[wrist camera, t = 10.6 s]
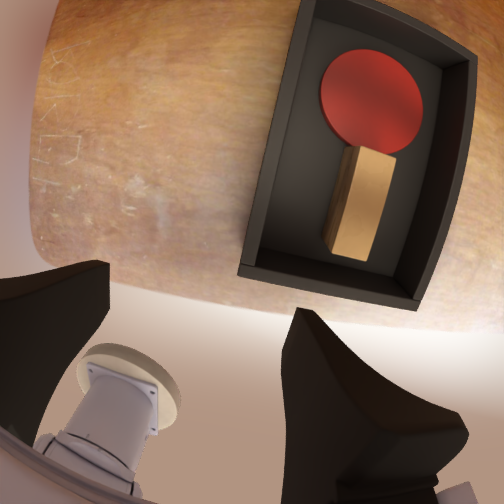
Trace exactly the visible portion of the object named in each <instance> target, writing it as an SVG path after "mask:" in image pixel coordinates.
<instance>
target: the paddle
mask: <svg viewBox="0 0 504 504" xmlns="http://www.w3.org/2000/svg"><path fill="white" fill-rule="evenodd" d="M319 104H320V108H321V112H322V114H323V117H324V119H325V121H326V123H327V124H328V126H329V127H330V129H331V130H332V131H333V133H334V134H335V135H336V136H337V137H338V138H339V139H340V140H341V141H343V142H344V143H345V144H347V145H348V147H345V148H344V152H343V156H342V160H341V164H340V169H339V172H338V176H337V180H336V184H335V188H334V192H333V196H332V199H331V203H330V207H329V210H328V214H327V217H326V221H325V224H324V228H323V231H322V235H321V237H322V239H323V240H324V242H325V244H326V245H327V247H328V248H329V250H330V251H331V253H333V254H337V255H342V256H346V257H350V258H354V259H358V260H362V261H367V258H368V255H369V252H370V249H371V246H372V243H373V240H374V237H375V234H376V231H377V228H378V225H379V221H380V218H381V215H382V211H383V208H384V204H385V201H386V197H387V194H388V190H389V186H390V183H391V179H392V175H393V171H394V167H395V163H396V158H394V157H392V156H389V155H386V154H390V153H394V152H397V151H399V150H401V149H403V148H405V147H406V146H407V145H409V144H410V143H411V142H412V141H413V139H414V138H415V137H416V135H417V133H418V131H419V129H420V126H421V123H422V118H423V104H422V98H421V94H420V91H419V89H418V86H417V84H416V82H415V81H414V79H413V78H412V76H411V75H410V73H409V72H408V71H407V70H406V69H405V68H404V67H403V66H402V65H401V64H400V63H399V62H397V61H396V60H395V59H393V58H392V57H390V56H388V55H386V54H384V53H381V52H378V51H374V50H368V49H356V50H351V51H348V52H345V53H343V54H341V55H339V56H338V57H337V58H335V59H334V60H333V61H332V62H331V63H330V64H329V66H328V67H327V68H326V70H325V71H324V73H323V75H322V77H321V80H320V84H319Z"/></svg>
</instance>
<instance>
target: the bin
mask: <svg viewBox="0 0 504 504" xmlns="http://www.w3.org/2000/svg"><path fill="white" fill-rule="evenodd" d="M356 49H368V50H374V51H378V52H381V53H384V54H386V55H388V56H390V57H392V58H393V59H395V60H396V61H397V62H399V63H400V64H401V65H402V66H403V67H404V68H405V69H406V70H407V71H408V72H409V73H410V75H411V76H412V78H413V79H414V81H415V82H416V84H417V86H418V89H419V91H420V94H421V98H422V104H423V118H422V123H421V126H420V129H419V131H418V133H417V135H416V137H415V138H414V139H413V141H412V142H411V143H410V144H409V145H407V146H406V147H405V148H403V149H401V150H399V151H397V152H394V153H390V154H386V155H389V156H392V157H394V158H396V163H395V167H394V171H393V175H392V179H391V183H390V186H389V190H388V194H387V197H386V201H385V204H384V208H383V211H382V215H381V218H380V221H379V225H378V228H377V231H376V234H375V237H374V240H373V243H372V246H371V249H370V252H369V255H368V258H367V261H362V260H358V259H354V258H350V257H346V256H342V255H337V254H333V253H331V251H330V250H329V248H328V247H327V245H326V244H325V242H324V240H323V239H322V237H321V235H322V231H323V228H324V224H325V221H326V217H327V214H328V210H329V207H330V203H331V199H332V196H333V192H334V188H335V184H336V180H337V176H338V172H339V169H340V164H341V160H342V156H343V152H344V148H345V147H348V145H347V144H345V143H344V142H343V141H341V140H340V139H339V138H338V137H337V136H336V135H335V134H334V133H333V131H332V130H331V129H330V127H329V126H328V124H327V123H326V121H325V119H324V117H323V114H322V112H321V108H320V104H319V84H320V80H321V77H322V75H323V73H324V71H325V70H326V68H327V67H328V66H329V64H330V63H331V62H332V61H333V60H334V59H335V58H337V57H338V56H339V55H341V54H343V53H345V52H348V51H351V50H356ZM477 65H478V56H476V55H475V54H474V53H472V52H471V51H469V50H468V49H466V48H465V47H463V46H462V45H460V44H459V43H457V42H456V41H454V40H452V39H451V38H449V37H448V36H446V35H444V34H443V33H441V32H439V31H437V30H436V29H434V28H432V27H430V26H428V25H427V24H425V23H423V22H421V21H419V20H417V19H415V18H413V17H411V16H409V15H407V14H405V13H403V12H401V11H398V10H396V9H394V8H392V7H389V6H387V5H385V4H382V3H380V2H377V1H375V0H301V2H300V6H299V10H298V14H297V18H296V22H295V26H294V30H293V34H292V39H291V43H290V47H289V51H288V55H287V59H286V63H285V68H284V72H283V76H282V80H281V84H280V89H279V93H278V97H277V101H276V105H275V110H274V114H273V118H272V123H271V127H270V131H269V135H268V140H267V144H266V148H265V153H264V157H263V161H262V166H261V170H260V175H259V179H258V183H257V188H256V192H255V197H254V201H253V205H252V210H251V214H250V219H249V223H248V228H247V232H246V237H245V241H244V246H243V250H242V255H241V259H240V264H239V268H238V273H237V276H239V277H244V278H248V279H253V280H258V281H262V282H267V283H272V284H276V285H281V286H286V287H291V288H295V289H300V290H305V291H310V292H315V293H320V294H325V295H330V296H335V297H340V298H345V299H350V300H356V301H361V302H366V303H372V304H377V305H382V306H388V307H393V308H399V309H404V310H410V311H417V309H418V307H419V305H420V303H421V300H422V298H423V296H424V294H425V292H426V289H427V287H428V284H429V282H430V280H431V277H432V275H433V272H434V270H435V267H436V265H437V262H438V259H439V257H440V254H441V251H442V248H443V245H444V242H445V240H446V237H447V234H448V230H449V227H450V224H451V221H452V218H453V214H454V211H455V207H456V204H457V200H458V196H459V192H460V188H461V184H462V180H463V176H464V171H465V167H466V162H467V157H468V151H469V146H470V140H471V134H472V127H473V119H474V111H475V101H476V88H477Z"/></svg>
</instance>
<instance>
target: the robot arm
mask: <svg viewBox="0 0 504 504" xmlns="http://www.w3.org/2000/svg"><path fill="white" fill-rule="evenodd" d="M109 285H110V263H107V262H103V261H100V260H90V261H85V262H80V263H76V264H72V265H68V266H64V267H60V268H57V269H53V270H48V271H44V272H40V273H36V274H31V275H26V276H20V277H12V278H4V279H0V504H157V503H154V502H151V501H147V500H144V499H142V491H141V489H140V486H139V484H138V483H136V482H134V481H133V479H134V476H135V471H136V469H137V466H138V464H139V461H140V458H141V455H142V452H143V450H144V447H145V444H146V441H147V438H148V436H149V434H151V435H155V436H157V435H158V387H157V386H156V385H155V384H152V383H149V382H146V381H143V380H139V379H136V378H133V377H130V376H127V375H124V374H122V373H119V372H116V371H113V370H110V369H108V368H105V367H102V366H100V365H97V364H95V363H92V362H88V363H87V364H86V367H87V372H88V377H89V382H90V388H89V390H88V392H87V393H86V395H85V396H84V398H83V400H82V401H81V403H80V404H79V406H78V408H77V409H76V411H75V412H74V414H73V416H72V417H71V419H70V421H69V422H68V424H67V426H66V427H65V429H64V431H62V430H60V431H59V433H58V435H57V436H56V437H55V436H54V435H53V434H51V433H49V434H43V435H41V436H40V437H39V438H38V440H37V441H36V442H35V444H34V441H35V438H36V434H37V431H38V428H39V425H40V423H41V420H42V417H43V415H44V412H45V410H46V407H47V405H48V403H49V401H50V399H51V397H52V395H53V393H54V390H55V388H56V386H57V385H58V383H59V381H60V379H61V378H62V376H63V374H64V372H65V370H66V369H67V368H68V366H69V365H70V363H71V362H72V360H73V359H74V358H75V357H76V355H77V354H78V353H79V351H80V350H81V349H82V347H84V345H85V344H86V343H87V342H88V340H89V339H90V338H91V336H92V335H93V334H94V333H95V332H96V330H97V329H98V328H99V326H100V325H101V323H102V321H103V320H104V318H105V316H106V315H107V313H108V311H109V309H110V286H109ZM281 379H282V390H283V399H284V409H285V419H286V448H285V466H284V478H283V488H282V498H281V504H478V502H477V499H476V497H475V494H474V492H473V489H472V487H471V484H470V482H464V483H462V484H459V485H456V486H453V487H451V488H448V489H445V490H443V491H441V492H439V493H437V494H435V491H434V488H433V487H434V486H436V485H437V484H438V482H439V480H438V478H437V475H436V474H437V473H438V472H439V471H440V470H441V469H442V468H443V467H445V466H446V465H447V464H448V463H449V462H450V461H451V460H452V459H453V458H454V457H455V456H456V455H457V454H458V453H459V452H460V451H461V450H462V449H463V447H464V446H465V444H466V442H467V440H468V437H469V432H468V430H467V428H466V426H465V424H464V422H463V420H462V419H461V417H460V415H459V414H458V413H457V412H454V411H451V410H449V409H446V408H443V407H440V406H438V405H435V404H432V403H430V402H428V401H425V400H424V399H421V398H419V397H417V396H415V395H413V394H411V393H409V392H407V391H406V390H404V389H402V388H401V387H399V386H397V385H396V384H394V383H392V382H391V381H389V380H387V379H386V378H385V377H383V376H382V375H380V374H379V373H378V372H376V371H375V370H374V369H373V368H371V367H370V366H368V365H367V364H366V363H365V362H364V361H363V360H361V359H360V358H359V357H358V356H357V355H356V354H355V353H354V352H353V351H352V350H351V349H350V348H348V347H347V346H346V345H345V344H344V343H343V341H341V339H340V338H338V336H337V335H336V334H335V333H334V332H333V331H332V330H331V329H330V328H329V327H328V325H327V324H326V323H325V322H324V321H323V320H322V319H321V318H320V317H319V316H318V315H317V314H316V313H315V312H314V311H313V310H309V309H304V308H299V307H297V308H296V311H295V314H294V317H293V320H292V323H291V326H290V330H289V332H288V335H287V338H286V340H285V343H284V346H283V349H282V358H281ZM33 444H34V445H33Z"/></svg>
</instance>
